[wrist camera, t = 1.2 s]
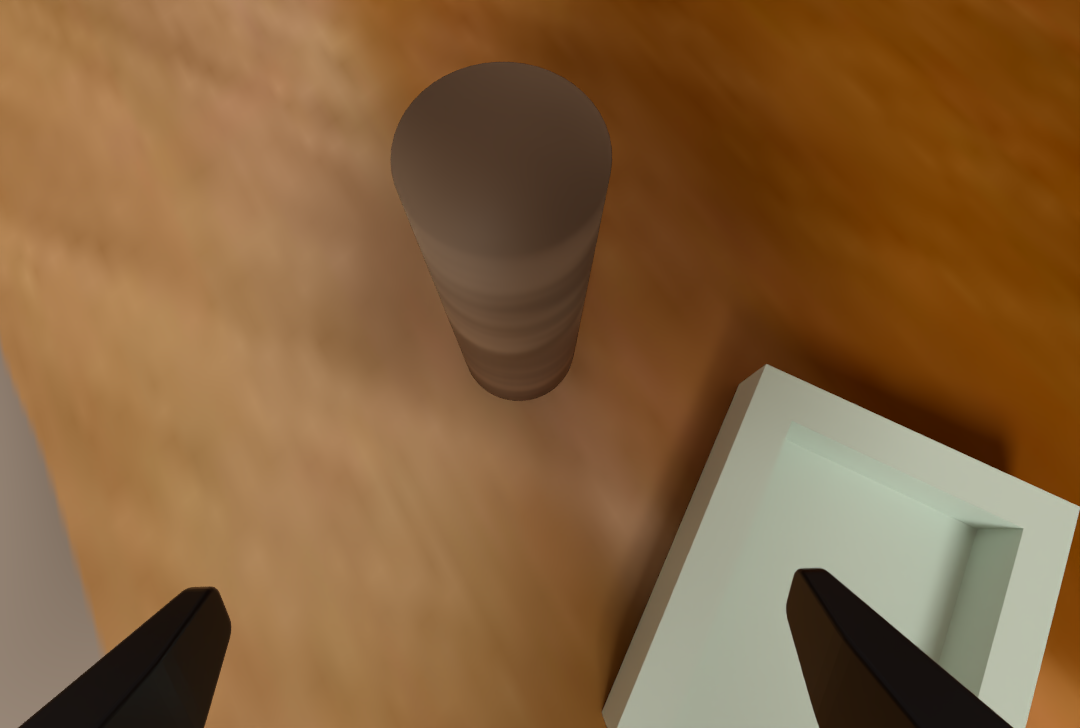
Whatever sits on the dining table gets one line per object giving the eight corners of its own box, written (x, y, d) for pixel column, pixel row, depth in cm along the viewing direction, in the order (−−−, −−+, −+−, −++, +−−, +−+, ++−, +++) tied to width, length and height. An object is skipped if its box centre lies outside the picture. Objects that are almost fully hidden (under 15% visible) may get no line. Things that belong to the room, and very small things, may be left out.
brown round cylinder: (544, 419, 24) (552, 291, 11) (444, 371, 24) (349, 197, 12) (591, 323, 25) (646, 111, 13) (495, 279, 26) (456, 32, 13)
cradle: (909, 879, 20) (972, 937, 17) (601, 712, 21) (611, 739, 18) (1012, 510, 23) (1080, 507, 20) (738, 384, 24) (766, 363, 21)
